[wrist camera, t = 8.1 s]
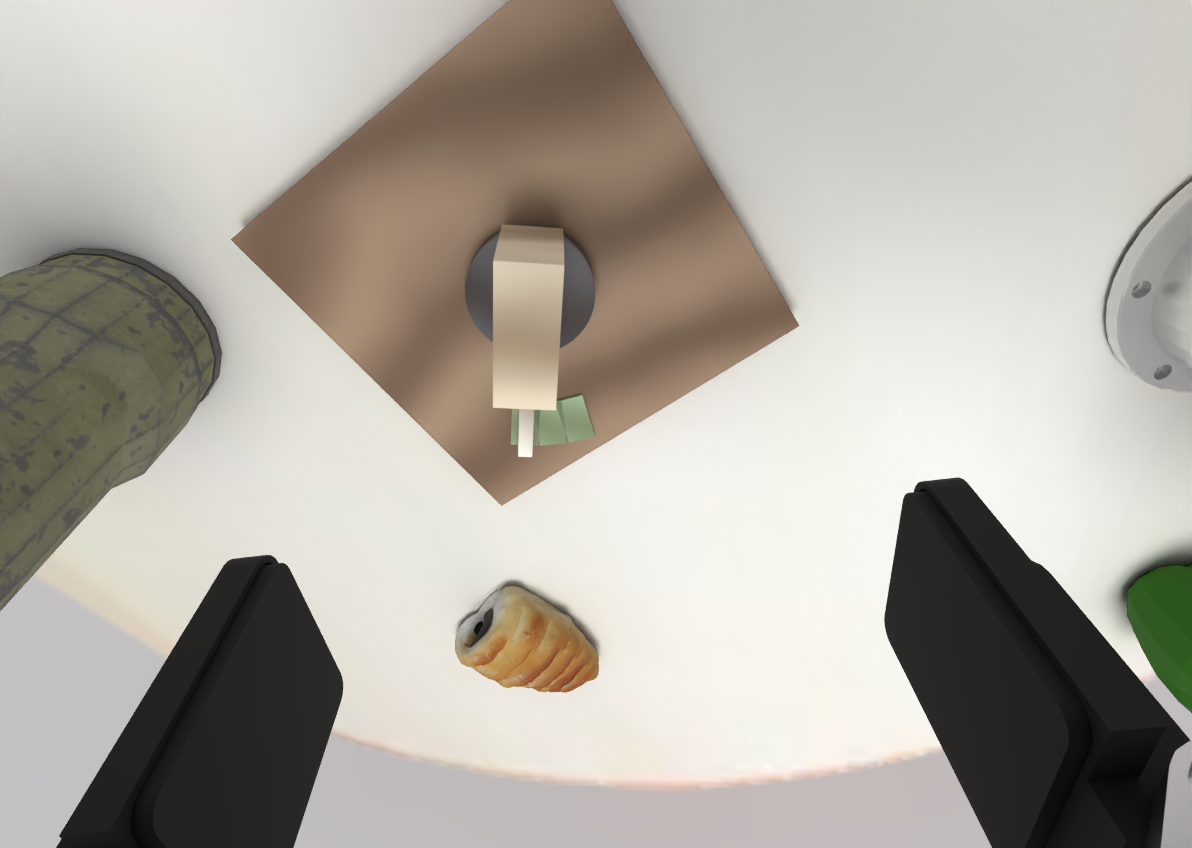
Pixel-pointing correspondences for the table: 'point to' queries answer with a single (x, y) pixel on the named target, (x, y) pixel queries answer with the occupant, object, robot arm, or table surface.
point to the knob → (528, 313)
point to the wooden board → (516, 197)
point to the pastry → (526, 644)
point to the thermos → (89, 390)
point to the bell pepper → (1165, 625)
